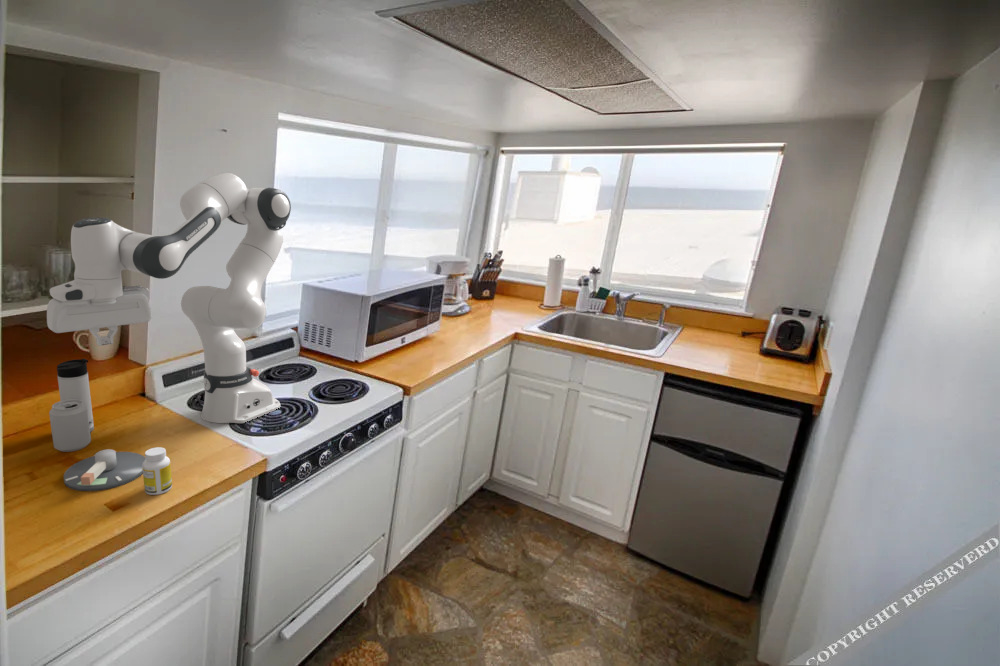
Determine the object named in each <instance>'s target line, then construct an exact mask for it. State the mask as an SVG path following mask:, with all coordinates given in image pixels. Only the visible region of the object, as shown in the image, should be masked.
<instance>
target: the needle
mask: <svg viewBox="0 0 1000 666" xmlns="http://www.w3.org/2000/svg"><path fill="white" fill-rule="evenodd" d="M116 452H117V451H116V450H114V449H111V448H110V449H109V448H108V449H103V450H99V451H98V452H96V453H95V454H94V456H95V464H94V465H93V466H92V467H91V468H90V469H89V470H88V471H87V472H86V473H85V474H83V475H82V476H81V484H82V485H90V484H91V483H92V482H93V481H94V480H95V479H96V478H97V477H98V476H99V475H100V474H101V473H102V472H103V471H109V470H112V469H114V468H116V466H117V461H116Z"/></svg>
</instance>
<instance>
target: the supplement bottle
mask: <svg viewBox="0 0 1000 666" xmlns="http://www.w3.org/2000/svg"><path fill="white" fill-rule="evenodd" d="M144 457H145V459H146V460H145V461H144V462H143V464H142V469H143V474H142V477H143V487H144V488H143V490H144V492H145V493H146V494H147V495H150V496H156V495H161V494H164V493H167V492H169V491H170V490H171V489H172V488H173V480H172V478H173V477H172V467H171V466H172V465H171V460H170V457H168V456H167V450H166V448H164V447H161V446H160V447H157V446H156V447H151V448H149V449H147V450H146V451H144Z"/></svg>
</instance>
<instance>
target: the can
mask: <svg viewBox="0 0 1000 666" xmlns="http://www.w3.org/2000/svg"><path fill="white" fill-rule="evenodd" d="M83 403H84V402H83V401H82V400H77V399H70V400H64V401H61V400H59V401H57V402H54V404H52V405H51V409H50V410H49V414H48V415H49V421H50V428H51V436H52V442H53V443H52V444H53V448H54V449H55V450H58V451H59V452H65V453H70V452H75V451H80V450H82V449H84V448H86V447H87V446H88V445H89V444H90V443H91V442H92V438H91V436H92V435H91V432H90V426H89V417H88V409H87V406H86V405H85V404H83Z"/></svg>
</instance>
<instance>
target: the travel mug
mask: <svg viewBox="0 0 1000 666" xmlns="http://www.w3.org/2000/svg"><path fill="white" fill-rule="evenodd" d="M88 363H89V360H88V359H87V358H79V359H77V358H76V359H70V360H66V361H63V362H60V363H59V364H57V366H56V372H57V383H58V389H59V391H58V392H59V398H60V400H59V401H64V400H70V399H77V400H82V401H83V402H84V403H83V404H85V405H86V406H87V409H88V417H89V426H90V433H92V432H93V431H94V430H95V425H94V416H93V407H92V399H91V398H92V397H91V388H90V380H89V371H88Z"/></svg>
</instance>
